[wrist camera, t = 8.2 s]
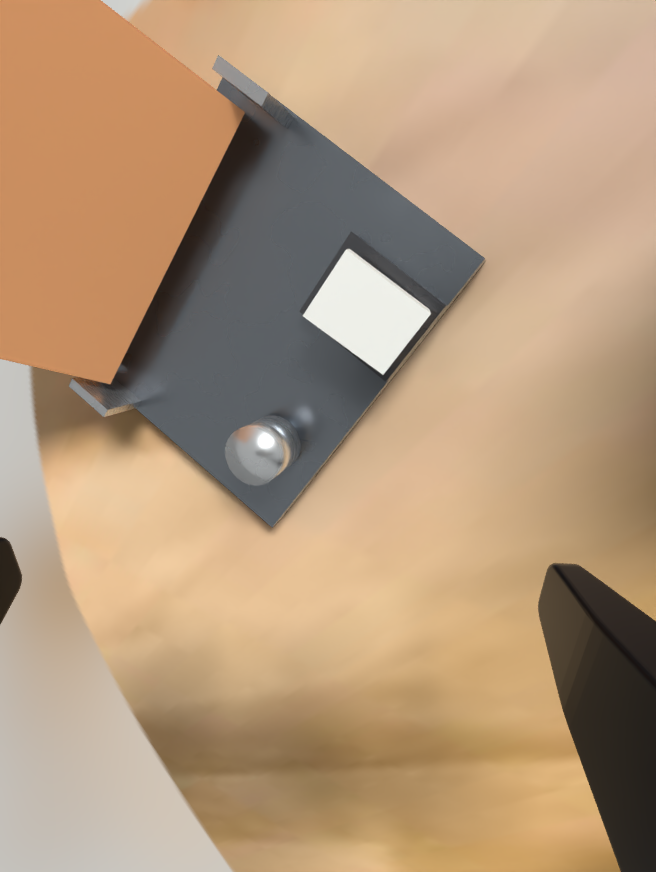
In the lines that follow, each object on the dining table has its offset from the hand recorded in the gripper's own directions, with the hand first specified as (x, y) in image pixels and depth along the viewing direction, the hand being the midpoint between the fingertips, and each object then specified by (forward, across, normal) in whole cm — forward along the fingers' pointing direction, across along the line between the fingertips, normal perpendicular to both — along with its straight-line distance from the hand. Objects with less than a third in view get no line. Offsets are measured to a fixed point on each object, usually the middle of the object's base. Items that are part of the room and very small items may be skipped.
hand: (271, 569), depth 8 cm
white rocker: (+10, -2, -2) cm, 11 cm away
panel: (+13, +2, -1) cm, 13 cm away
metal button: (+11, +2, +3) cm, 12 cm away
